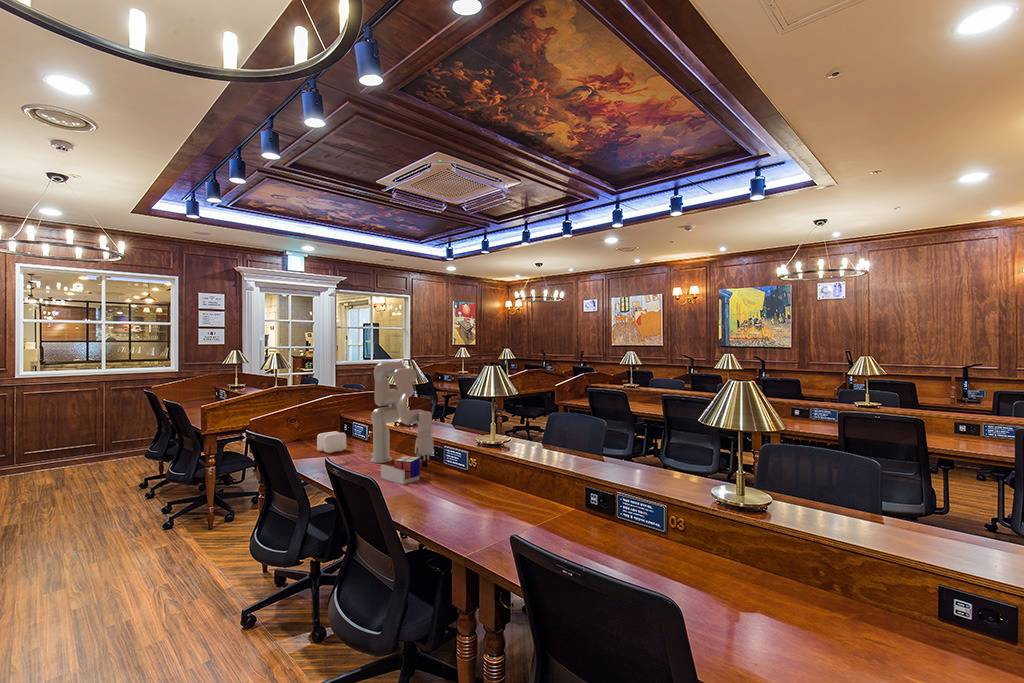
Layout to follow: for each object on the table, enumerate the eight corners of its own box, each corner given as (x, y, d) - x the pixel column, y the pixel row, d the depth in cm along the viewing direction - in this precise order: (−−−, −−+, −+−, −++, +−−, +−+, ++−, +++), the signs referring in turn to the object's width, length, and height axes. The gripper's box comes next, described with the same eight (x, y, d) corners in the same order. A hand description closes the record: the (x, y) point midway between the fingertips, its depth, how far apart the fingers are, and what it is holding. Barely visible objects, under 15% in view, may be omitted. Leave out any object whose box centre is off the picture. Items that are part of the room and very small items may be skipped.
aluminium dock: (381, 477, 245) (381, 464, 245) (398, 473, 254) (398, 460, 254) (402, 484, 234) (402, 470, 234) (419, 479, 242) (419, 466, 242)
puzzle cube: (411, 481, 239) (411, 462, 239) (393, 479, 242) (393, 460, 242) (420, 476, 249) (420, 457, 249) (403, 474, 252) (403, 455, 252)
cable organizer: (323, 454, 294) (324, 436, 294) (316, 451, 301) (316, 433, 301) (346, 450, 305) (346, 432, 305) (338, 447, 312) (338, 430, 312)
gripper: (430, 431, 265) (430, 463, 265) (409, 435, 253) (409, 468, 253) (439, 432, 260) (439, 465, 260) (418, 437, 248) (418, 471, 248)
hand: (424, 467), depth 257 cm, fingers closed
